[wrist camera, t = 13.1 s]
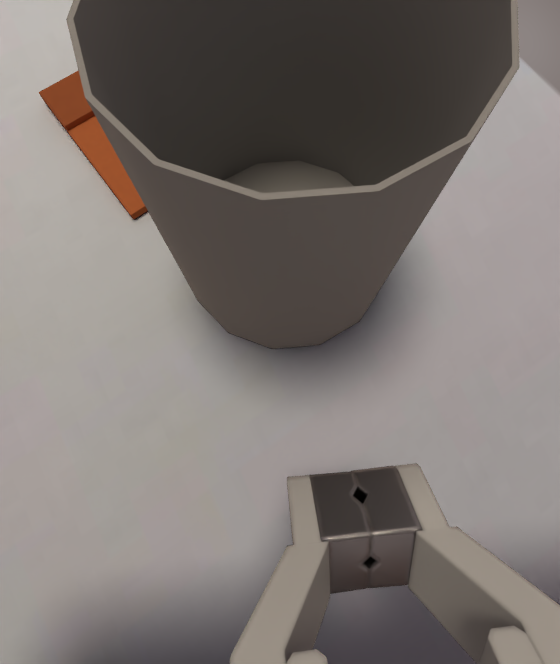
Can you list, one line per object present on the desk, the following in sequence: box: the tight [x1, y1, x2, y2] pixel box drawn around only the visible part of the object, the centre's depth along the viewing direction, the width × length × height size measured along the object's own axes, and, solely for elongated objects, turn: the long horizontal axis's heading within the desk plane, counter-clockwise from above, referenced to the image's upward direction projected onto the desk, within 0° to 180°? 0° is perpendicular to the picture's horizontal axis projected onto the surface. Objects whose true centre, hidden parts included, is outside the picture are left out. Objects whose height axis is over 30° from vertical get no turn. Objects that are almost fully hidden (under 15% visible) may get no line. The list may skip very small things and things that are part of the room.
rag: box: [39, 71, 148, 219], centre depth 19 cm, size 14×8×1 cm, turn 128°
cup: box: [66, 0, 519, 349], centre depth 12 cm, size 8×8×10 cm
